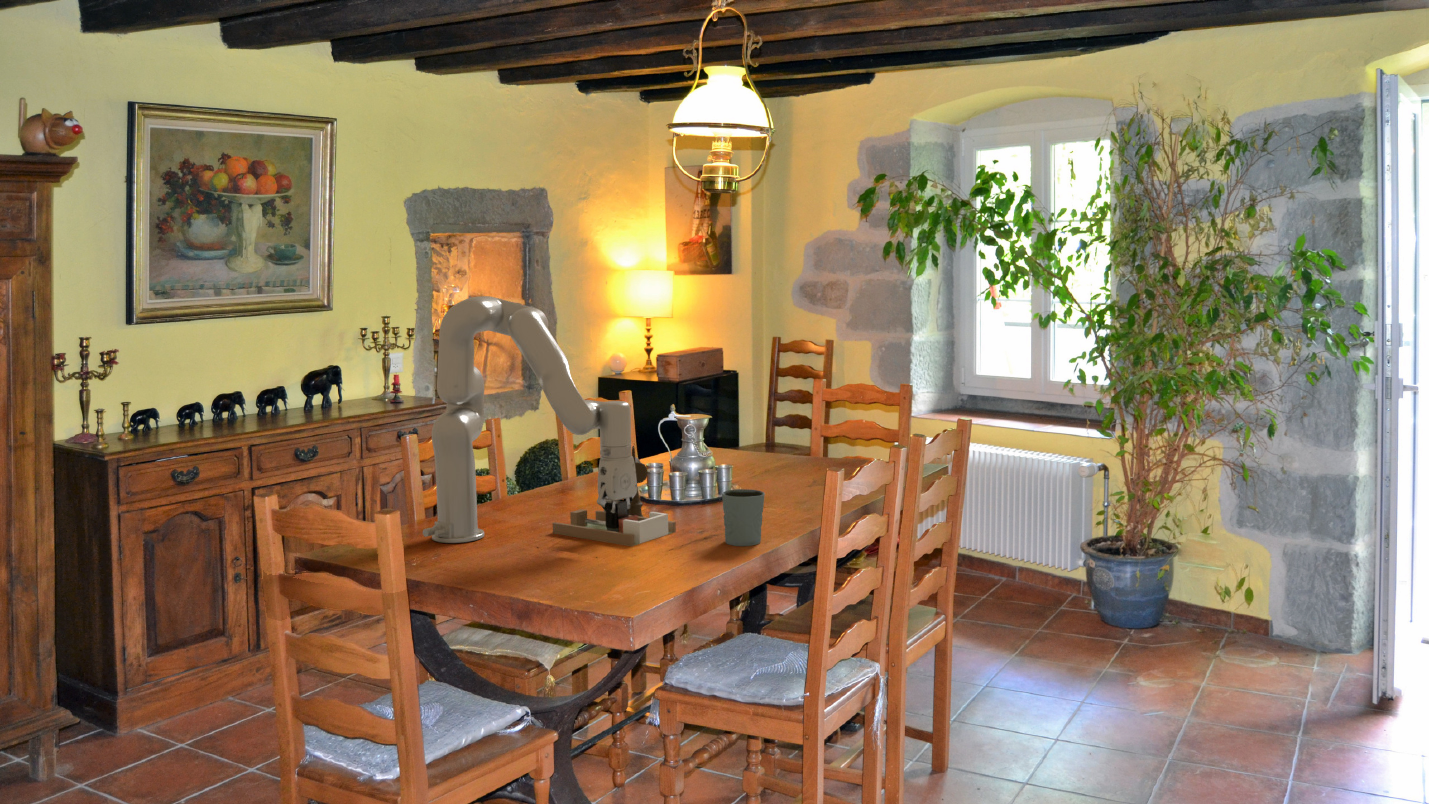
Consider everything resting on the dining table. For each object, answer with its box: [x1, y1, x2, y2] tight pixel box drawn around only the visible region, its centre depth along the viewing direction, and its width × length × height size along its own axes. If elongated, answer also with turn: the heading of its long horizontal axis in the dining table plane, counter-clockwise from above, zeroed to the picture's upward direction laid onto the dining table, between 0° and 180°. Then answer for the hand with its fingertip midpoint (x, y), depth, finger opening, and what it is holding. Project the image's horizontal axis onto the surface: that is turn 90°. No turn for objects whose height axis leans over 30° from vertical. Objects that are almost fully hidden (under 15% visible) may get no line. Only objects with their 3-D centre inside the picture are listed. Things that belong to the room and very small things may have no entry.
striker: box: [585, 500, 638, 533], centre depth 282 cm, size 6×14×7 cm, turn 55°
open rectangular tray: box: [552, 508, 677, 547], centre depth 281 cm, size 17×25×6 cm
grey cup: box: [721, 488, 765, 547], centre depth 274 cm, size 10×10×12 cm
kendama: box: [629, 445, 649, 517], centre depth 297 cm, size 6×10×20 cm, turn 16°
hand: (617, 525), depth 280 cm, fingers closed on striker, 3 cm apart
